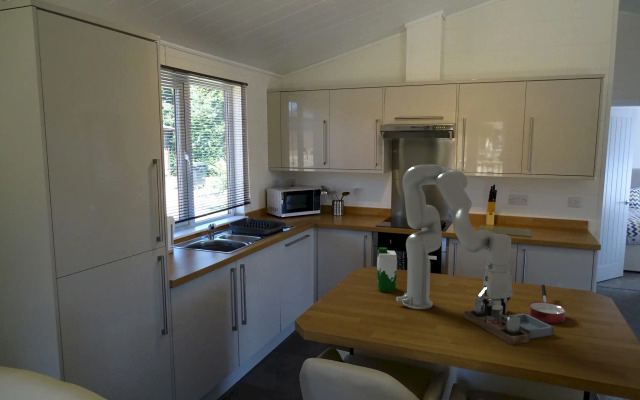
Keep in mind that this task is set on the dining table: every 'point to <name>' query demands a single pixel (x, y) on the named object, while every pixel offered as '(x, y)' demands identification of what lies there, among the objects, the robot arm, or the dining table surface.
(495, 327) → the socket rack
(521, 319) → the tray
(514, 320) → the peg
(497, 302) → the pill bottle
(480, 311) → the peg
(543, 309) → the frying pan
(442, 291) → the dining table surface
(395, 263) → the milk carton
